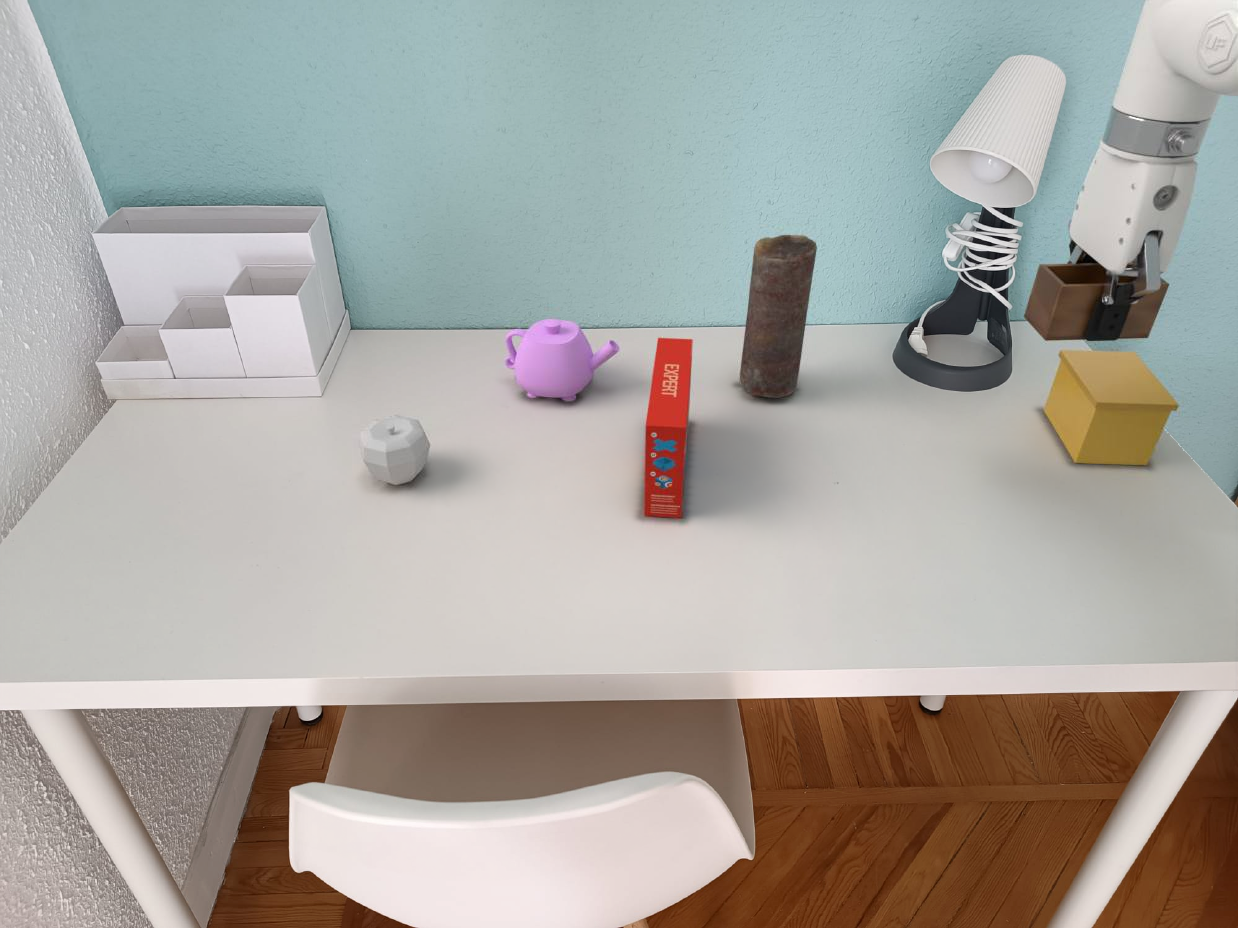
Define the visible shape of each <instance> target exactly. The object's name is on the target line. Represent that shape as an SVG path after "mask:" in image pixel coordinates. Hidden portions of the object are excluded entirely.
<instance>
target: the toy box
mask: <svg viewBox="0 0 1238 928" xmlns="http://www.w3.org/2000/svg"><path fill="white" fill-rule="evenodd" d="M693 343H694V339H693V338H675V337H674V338H673V337H672V338H671V337H657V341H656V350H655V357H654V363H653V364H654V365H653V370H652V377H651V384H650V392H649V399H648V406H647V412H646V418H645V419H646V420H645V433H644V434H645V435H644V437H645V439H644V440H645V441H644V498H643V499H644V507H643V508H644V509H643V511H644V512H643V516H644V517H656V518H671V519H682V518H683V509H684V494H685V479H686V467H687V454H688V453H687V451H688V438H689V425H690V423H689V422H690V404H691V385H692V364H693V348H694V347H693V345H694V344H693Z"/></svg>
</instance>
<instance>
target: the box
mask: <svg viewBox="0 0 1238 928" xmlns="http://www.w3.org/2000/svg"><path fill="white" fill-rule="evenodd" d="M1058 357H1059V359H1060V361H1059V364H1058V367H1057V370H1056V373H1055V377H1054V379H1053V382H1052V385H1051V388H1050V390H1049V394H1048V396H1047V399H1046V403H1045V406H1044V409H1043V412H1044V414H1045V415H1046V417H1047V418H1048V421H1049V422H1050V423H1051V426H1052V427H1053V430H1055V432H1056V433H1057V436H1058V437H1059V439H1060V440H1061V442H1062V444H1063V445H1064V447H1065V448H1066V450H1067V452H1068V454H1069V455H1070V457H1071V459H1072V460H1073V462H1074V463H1075V464H1089V465H1091V464H1092V465H1122V466H1123V465H1125V466H1148V465H1149V461H1151V458H1152V455H1153V453H1154V451H1155V449H1156V447H1157V444H1158V442H1159V439H1160V437H1161V435H1162V433H1163V431H1164V428H1165V426H1166V424H1167V422H1168V419H1169V417H1170V416H1171V413H1172V411H1173V412H1176V411H1177V410H1178V408H1179V406H1180V404H1179V403H1178V401H1177V400H1176V399H1175V398H1174V397H1173V395H1171V393H1170V392H1169V391H1168V390H1167V388H1166V387H1165V386H1164V385H1163V384H1162V382H1160V380H1159V379H1158V378H1157V377H1156V376H1155V374H1154V373H1153V372H1152V371H1151V370H1150V368H1149V367H1148V366H1147V365H1146V363H1145V362H1144V361H1143V360H1142V359H1141V358H1140V356H1139V355H1138V354H1137V352H1136V351H1121V350H1120V351H1117V350H1116V351H1114V350H1111V351H1110V350H1078V349H1077V350H1073V349H1060V350H1059V352H1058Z"/></svg>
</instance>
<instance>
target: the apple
mask: <svg viewBox="0 0 1238 928" xmlns="http://www.w3.org/2000/svg"><path fill="white" fill-rule="evenodd" d="M357 447H358V450H359V452H360V455H361V459H362V462H363V464H364V465H365V466H366V468H367V470H368V471H369V473H370V475H372V476H373V477H374V478H376V479H377V480H378V481H380V482H383V483H386V484H390V485H395V486H399V485H403V484H406V483H410V482H411V481H413V480H414V479H415V478H416V477H417V475H419V474H420V472H421V471H422V470H423V468H424V466H425V464H426V463H427V461H428V457H429V452H430V449H431V448H430V447H431V442H430V440H429V439H428V436H427V434H426V432H425V430H424V428H423V426H422V424H421V422H420V420H419V419H415V418H411V417H406V416H401V415H397V414H396V415H392V416H387V417H384V418H379V419H375V420H373V421H372V422H371V423H370V424H368V425H367V427H365V429H363V431H361V432H359V435H358V443H357Z"/></svg>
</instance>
